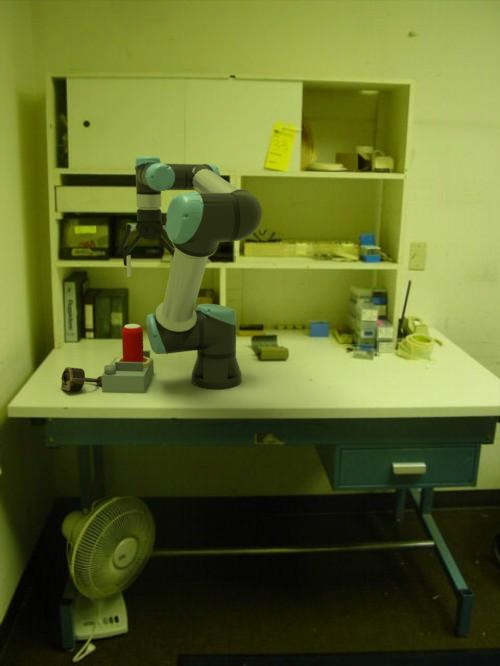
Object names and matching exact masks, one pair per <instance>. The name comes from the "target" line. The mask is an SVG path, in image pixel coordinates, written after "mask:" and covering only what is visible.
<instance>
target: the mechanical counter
mask: <svg viewBox="0 0 500 666" xmlns="http://www.w3.org/2000/svg"><path fill="white" fill-rule="evenodd" d="M61 374H62V375H61V386H60V389H61V390H65V391H68V392H69V391H82V389H83V388H84V385H85V383H96V384H97V385H98V386H101V387H102V375H101V376H99V375H98V377H97V378H91V377H86V373H85V370H84V369H83V368H79V367H70V366H69V367H68V366H67V367H65V368H64V369H63V372H62V373H61Z"/></svg>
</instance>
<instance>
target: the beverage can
mask: <svg viewBox="0 0 500 666" xmlns="http://www.w3.org/2000/svg"><path fill="white" fill-rule="evenodd" d="M121 345H122V347H121V348H122V357H123V362H143V361H144V355H143V350H144V330H143V328H142V326H141V325H140V324H137V323H128V324H125V325H124V326H123V328H122V330H121Z"/></svg>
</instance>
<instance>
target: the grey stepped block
mask: <svg viewBox="0 0 500 666" xmlns="http://www.w3.org/2000/svg"><path fill="white" fill-rule="evenodd" d="M143 355H144V361H143V362H123V356H121V357H116V356H114V357H113V359H112V360H111V362H110V363H109V364H107V365H104V367H103V373H102V374H101V376H102V386H101V391H102V393H135V394H136V393H137V394H139V393H141V394H143V393H145V392H146V390H147V387H148V386H149V384H150V382H151V380H152V378H153V375H154V372H155V371H154V370H155V369H154V368H155V367H154V365H155V364H154V357H151V350H145V349H143Z"/></svg>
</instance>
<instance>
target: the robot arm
mask: <svg viewBox="0 0 500 666" xmlns="http://www.w3.org/2000/svg"><path fill="white" fill-rule="evenodd" d="M134 170H135V187H136V188H135V189H136V191H135V193H136V195H135V196H136V208H138V209H136V224H132V223H128V224H127V225H126V229H125V230H126V231H125V233H124V235H123V238H122V240H121V242H120V244H119V246H118V249H117V251H116V253H117V254H119V255H122V256H123V258H122V259H123V267H126V276H127V278H130V277H132V259H131V258H132V254H130V252H131V251H132V250H133V249H134V248H135V247H136V245H137V244H138V243H139V241H140V240H141V239H143V240H148V239H149V240H155V239H157V240H158V241H159V242H160V243H161V244H162V245H163V247H164V248H165V249H166V250H167V251H168V252H169V253H170V255H171V256H170V257H169V267H170V269H169V275H168V280H167V285H166V289H165V293H164V296H163V297H164V299H163V302H161V303H159V304H158V306H157V307H156V309H155V313H150V314H148V315H147V316H146V319H145V323H146V332H147V337H148V338H147V339H148V342H149V345H150V348H151V350H152V352H153V353H154V354H155V355H169V354H176V353H184V352H193V351H196V353H197V354H196V355H197V356H196V359H195V362H194V364H193V368H192V371H191V383H192V384H193V385H194V386H197V387H201V388H203V389H210V390H211V389H214V390H215V389H216V390H218V389H219V390H220V389H221V390H222V389H229V388H233V387H237V386H238V385H240V384H241V383H242V372H241V368H240V365H239V362H238V359H237V325H238V323H237V313H236V311H235V310H234V309H233V308H231V307H229V306H226V305H222V304H215V303H214V304H213V303H201V304H198V305H197V307H196V304H197V299H198V296H199V293H200V289H201V285H202V281H203V277H204V276H205V275H204V274H205V271H206V268H207V263H208V260H209V257H211V256H213V255H214V254H215V253H216V251H217V250H218V248H219V247H218V246H219V243H222V242H223V243H224V242H239V241H242V240H244V239H247V238H250V237H251V236H252V235H253V234H254V233H255V232H256V231H257V230H258V228H259V227H260V225H261V223H262V220H263V216H264V215H263V214H264V213H263V207H262V204H261V201H260V200H259V199H258V197H257V196H255V195H254V194H253V193H252V192H250V191H248V190H246V189H242V188H237V187H236V186H234V185H233V184H231V183H230V182H228V181H227V180H225V179H224V178H223V177H221V174H220V170H219V168H218V166H217V165H215V164H207V163H202V164H201V163H200V164H199V163H197V164H194V163H191V164H190V163H188V164H187V163H162V162H161V158H160V157H158V156H141V155H140V156H136V158H135V166H134ZM163 191H164V192H165V191H191V192H183V193H177V194H176V195H175V196H173V198H172V199H171V200H170V202H169V204H168V208H167V212H166V222H165V225H164V224H163V222H162V219H163V218H162V210H161V207H162V192H163ZM134 230H136V231H137V233H138V234H137V235H136V236H135V238H134V239H133V240H132V242H131V243H130V244H129V245H128V247H127V248H126V249H125V247H126V245H127V243H128V241H129V238H130V237H131V234H132V232H133V231H134ZM163 231H164V232H166V234H167V237H168V239H169V241H171V243H172V245H173V247H172V246H171V244H170V243H169V242H168V241H167V239H166V238H165V237H164V235H163V234H162V232H163ZM124 249H125V250H124ZM195 307H196V310H195Z"/></svg>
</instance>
